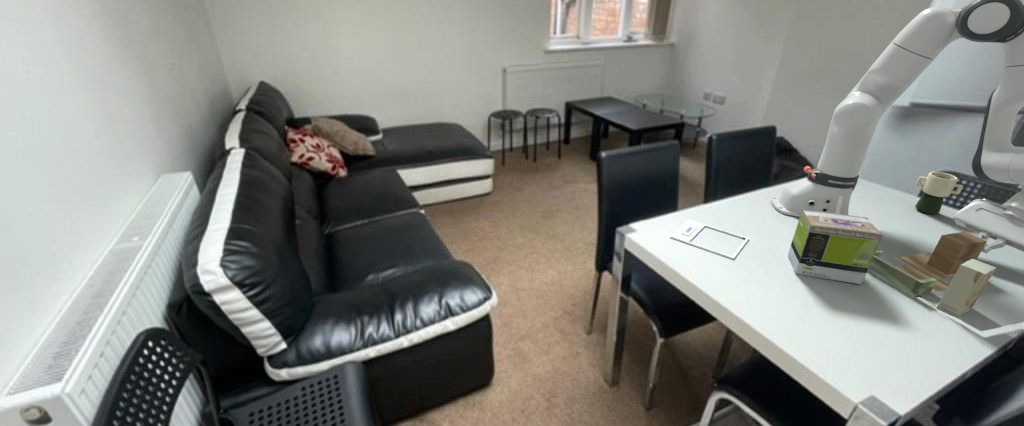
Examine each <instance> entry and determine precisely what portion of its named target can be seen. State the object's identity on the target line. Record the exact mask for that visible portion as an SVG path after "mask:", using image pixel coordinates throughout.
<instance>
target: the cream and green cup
mask: <svg viewBox="0 0 1024 426" xmlns="http://www.w3.org/2000/svg"><path fill="white" fill-rule="evenodd" d="M923 180H924V182H923V183H921V182H922V181H923ZM958 180H959V178H958V177H957V176H955V175H954V174H949V173H946V172H943V171H942V172H940V171H930V172H929V173H928V174H927V176H923V175H921V176H919V177H918V179H917V181H916V183H915V185H916V186H918V187H922V192H923V194H922V195H921V196H920V198H919V200H918V201H917V202H916V204H915V205H914V206H915V208H916V209H917V210H918V211H921V212H923V213H926V214H939V213H940V212H941V209H942V206H943V202H944V198H947V197H949V196H951V194H952V195H959V194H961V191H962V189H963V187H964V186H963V185H962V184H958V183H957V182H958ZM954 188H957V189H956V190H954Z"/></svg>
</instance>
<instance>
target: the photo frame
mask: <svg viewBox="0 0 1024 426" xmlns="http://www.w3.org/2000/svg"><path fill="white" fill-rule="evenodd" d="M704 228H708V229H711V230H714V231H717V232H720V233H723V234H727V235H730V236H733V237H736V238H739V239H742V240H743V239H744V240H743V241H742V243H741V244H740V246H739V247H738V248H737V249H736V251H735V252H734V253H733V254H732V255H729V254H726V253H723V252H720V251H717V250H715V249H711V248H709V247H707V246H703V245H701V244H698V243H694V242H692V241H693V240H694V238H695V237H696V236H697V235H698V234H699V233H700V232H701V231H702V230H703V229H704ZM670 239H673V240H674V241H675V240H676V241H677V242H678V241H679V242H681V243H684V244H687V245H689V246H692V247H696V248H699V249H701V250H704V251H706V252H710V253H713V254H717V255H719V256H722V257H725V258H728V259H730V260H735V258H736V257H737V256H738V255H739V254H740V252H741V251H742V249H743V248H744V247H745V245H746V244H747V243H748V241H750V237H748V236H744V235H741V234H737V233H734V232H732V231H728V230H724V229H721V228H718V227H715V226H712V225H709V224H705V223H702V222H699V221H696V220H692V219H687V220H686V221H685V222H684V223H683V224H682V225H681V226H680V227H679V228H678V229H677V230H675V232H673V234H672V235H670Z"/></svg>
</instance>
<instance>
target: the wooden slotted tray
mask: <svg viewBox="0 0 1024 426" xmlns="http://www.w3.org/2000/svg"><path fill="white" fill-rule="evenodd" d="M884 253H885V251H883V250H881V249H880V250H877V249H876V251H875V254H874V256H873V259H872V261H871V263H870V266H869V268H868V271H867V273H869V274H871V275H873V276H874V277H876V278H878V279H880V280H881V281H883V282H884V283H886V284H888V285H890V286H891V287H893V288H895V289H897V290H898V291H900V292H902V293H903V294H905V295H906V296H909V297H911V298H912V299H916V298H922V296H921V295H924V294H928V293H929V294H930V293H933V292H938V291H946V290H947V288H948V286H949V284H950V283H951V282H948V281H946V280H944V278H951V277H954V275H955V274H956V273H955V274H949V275H947V274H945V273H943V272H941V271H939V270H937V269H935V268H933V267H931V266H929V265H927V263H928V261H929V259H930V257H931V255H932V253H933V251H929V252H923V253H915V254H911V255H905V256H898V257H894V258H893V259H894V260H897V261H898V262H900V263H902V264H904V265H903V266H895V265H893V264H892V263H890V262H888V261H886V260H884V259H882V257H883V255H884ZM991 281H993V278H990V279H989V281H988V282H991Z"/></svg>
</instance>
